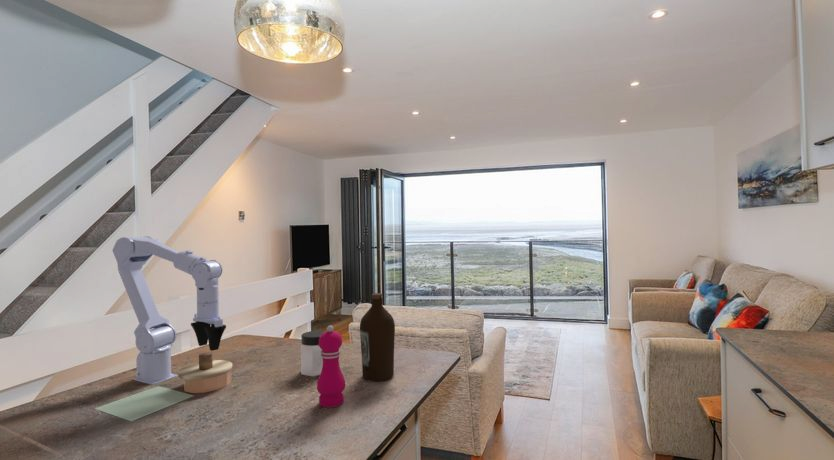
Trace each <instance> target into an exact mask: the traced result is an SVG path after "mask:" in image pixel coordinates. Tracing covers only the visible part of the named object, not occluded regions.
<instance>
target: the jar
mask: <svg viewBox="0 0 834 460" xmlns="http://www.w3.org/2000/svg"><path fill="white" fill-rule="evenodd" d="M325 332H326V330H311V331H306V332H303V333H302V334H301V344H300V367H301V368H300V369H301V370H300V373H301V375H303V376H306V377H312V378H314V377H317V376H320V374H321V371H322V367H323V358H322V357H321V351H322V349H321V348H320V347H319V338H320V336H321V335H322V334H323V333H325Z"/></svg>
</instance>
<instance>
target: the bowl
mask: <svg viewBox="0 0 834 460" xmlns="http://www.w3.org/2000/svg"><path fill="white" fill-rule="evenodd" d="M231 382H232V369H231V370H230V371H229V372H227V373H225V374H222V375H219V376H216V377H212V378H207V379H200V380H185V379H183V390H184V392H185V393H186V392H187V393H190V394H200V393H201V394H205V393H208V392H212V391H218V390H220V389H223V388H225V387H228V385H230V383H231Z"/></svg>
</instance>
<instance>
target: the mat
mask: <svg viewBox="0 0 834 460" xmlns="http://www.w3.org/2000/svg"><path fill="white" fill-rule="evenodd" d="M193 397H195V395H193V394H191V393H190V394H189V393H188V392H187V393H186V392H182V391H178V390H174V389H171V388H168V387H167V388H166V387H163V386H160V385H157V386H154V387H152V388H148V389H146V390H143V391H140V392H137V393H135V394H132V395H130V396H126V397H123V398H121V399H118V400H114V401H112V402H109V403H106V404H103V405H101V406H97V407H95V408H94V410H96V411H99V412H102V413H105V414H108V415H111V416H114V417H117V418H120V419H122V420H125V421H129V422H133V421H136V420H138V419H141V418H143V417H146V416H149V415H150V414H153V413H156V412H158V411H160V410H163V409H166V408H168V407H171V406H173V405H175V404H178V403H180V402H182V401H183V402H184V401H185V400H188V399H190V398H193Z"/></svg>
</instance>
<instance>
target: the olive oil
mask: <svg viewBox="0 0 834 460" xmlns="http://www.w3.org/2000/svg"><path fill="white" fill-rule="evenodd" d="M383 299H384V298H383V293H380V292H377V293H371V299H370V301H371V302H370V303H371V307H369V309H368V310H367V311H366V312H365V313H364V314H363V316H362V318H361V319H360V323H359V335H360V336H359V338H360V349H361V350H360V351H361V352H360V353H361V365H362V378H363V379H364V380H366V381H369V382H384V381H385V382H386V381H388V380H391V379H392V378H393V377H394V375H395V372H394V371H395V370H394V367H395V360H394V359H395V333H396V332H395V331H396V324H395V321H394V317H393V316H392V315H391V314H390V312H389V311H388V310H387V309H386V308H385V307H384V306H383V305H384V304H383V303H384V302H383Z"/></svg>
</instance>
